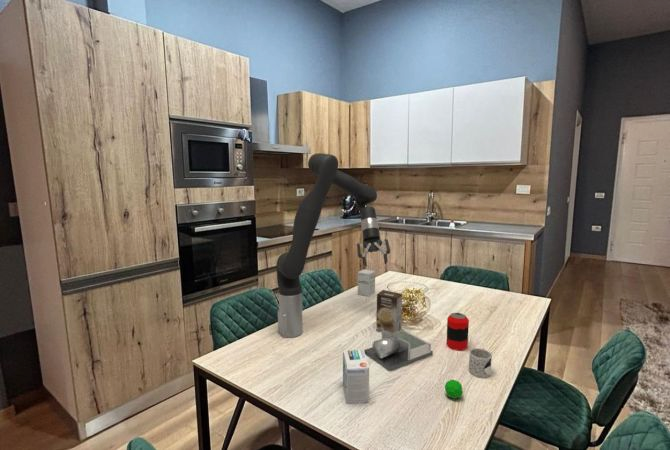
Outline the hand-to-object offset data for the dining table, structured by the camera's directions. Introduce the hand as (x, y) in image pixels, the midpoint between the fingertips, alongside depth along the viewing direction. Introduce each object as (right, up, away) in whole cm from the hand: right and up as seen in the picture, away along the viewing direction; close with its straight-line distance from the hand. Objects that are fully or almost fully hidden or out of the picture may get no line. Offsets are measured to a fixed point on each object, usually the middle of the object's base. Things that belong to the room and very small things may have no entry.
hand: (375, 264), depth 153 cm
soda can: (+28, -29, -20) cm, 45 cm away
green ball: (+17, -33, -50) cm, 62 cm away
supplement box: (-1, -21, +40) cm, 45 cm away
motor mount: (+5, -29, -26) cm, 39 cm away
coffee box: (+5, -27, -6) cm, 28 cm away
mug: (+31, -31, -36) cm, 57 cm away
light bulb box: (-12, -33, -48) cm, 59 cm away
